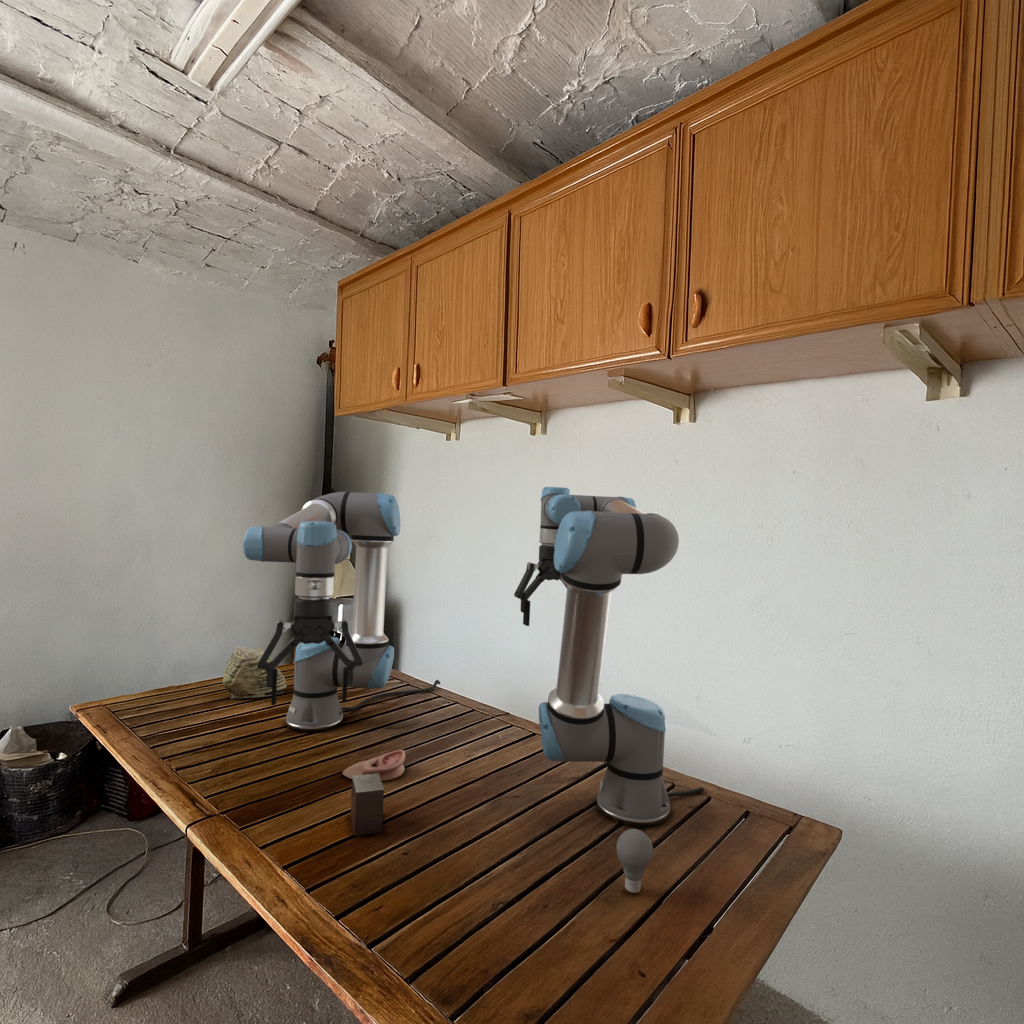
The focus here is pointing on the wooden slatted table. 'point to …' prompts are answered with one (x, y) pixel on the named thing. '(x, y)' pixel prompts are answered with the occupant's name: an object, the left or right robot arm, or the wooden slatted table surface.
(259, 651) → the fossil
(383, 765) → the anatomical model
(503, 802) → the wooden slatted table surface
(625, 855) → the light bulb
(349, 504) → the left robot arm
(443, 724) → the wooden slatted table surface
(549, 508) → the right robot arm
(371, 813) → the block
